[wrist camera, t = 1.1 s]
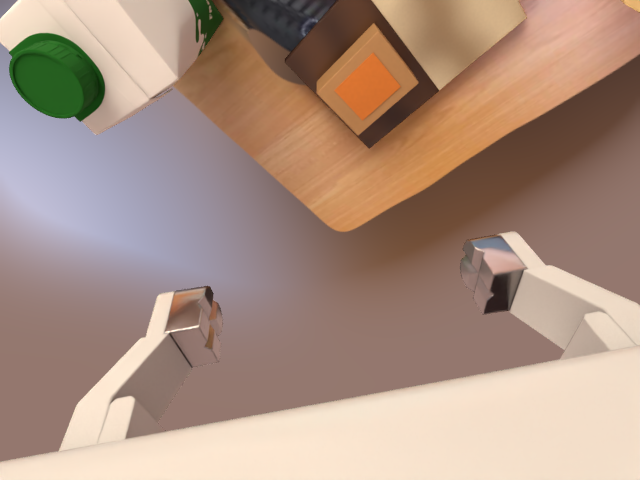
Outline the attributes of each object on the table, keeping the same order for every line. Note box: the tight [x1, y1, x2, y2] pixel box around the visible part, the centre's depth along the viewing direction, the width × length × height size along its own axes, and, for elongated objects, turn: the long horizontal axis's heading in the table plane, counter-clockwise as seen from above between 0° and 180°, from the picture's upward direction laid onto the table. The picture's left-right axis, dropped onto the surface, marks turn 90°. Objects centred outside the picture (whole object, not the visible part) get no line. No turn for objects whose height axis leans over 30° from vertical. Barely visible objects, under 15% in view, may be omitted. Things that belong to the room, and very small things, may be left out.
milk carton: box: [0, 0, 223, 135], centre depth 28 cm, size 9×9×20 cm
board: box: [285, 0, 527, 148], centre depth 38 cm, size 20×14×1 cm
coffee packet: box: [317, 23, 419, 135], centre depth 38 cm, size 8×6×4 cm
